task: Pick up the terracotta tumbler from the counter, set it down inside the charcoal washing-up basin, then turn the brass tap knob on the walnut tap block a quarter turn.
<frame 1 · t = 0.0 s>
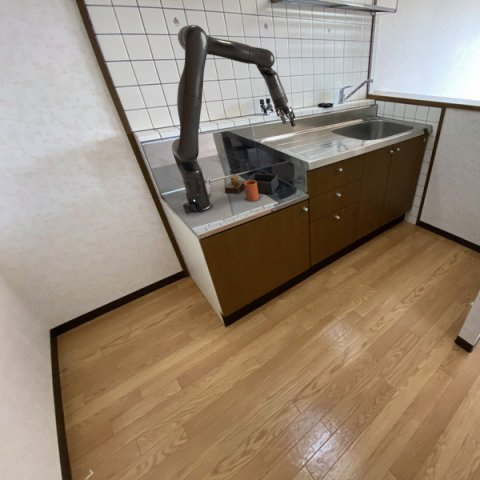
hand: (289, 125, 148), 31 cm above the countertop, tool tilted 20°, fingers open, 8 cm apart
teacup: (203, 195, 148), on the countertop
cup: (252, 198, 145), on the countertop
basin: (263, 188, 155), on the countertop
tap block: (236, 188, 155), on the countertop
tap knob: (234, 179, 152), point 5 cm above the countertop, hinge at 0.0°
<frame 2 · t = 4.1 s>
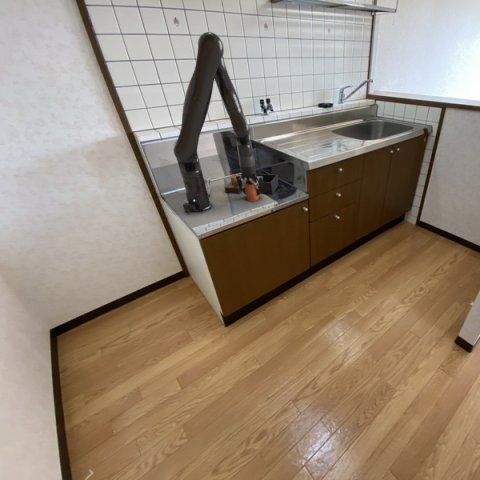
hand: (252, 194, 143), 2 cm above the countertop, tool pointing down, fingers closed on cup, 6 cm apart
cup: (252, 198, 145), on the countertop, touching gripper
everything else where it was.
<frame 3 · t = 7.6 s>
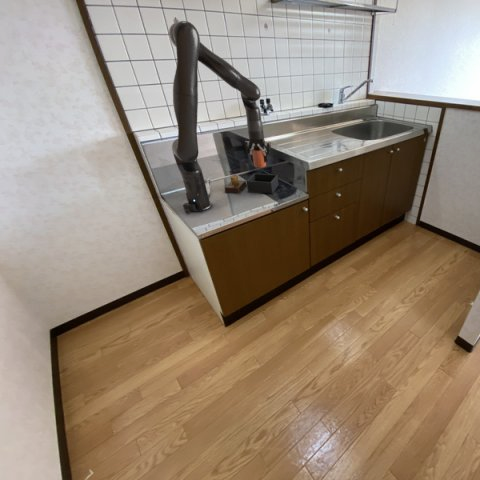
hand: (259, 161, 145), 16 cm above the countertop, tool pointing down, fingers closed on cup, 6 cm apart
cup: (260, 165, 147), point 14 cm above the countertop, touching gripper
everything else where it was.
when the fingers open (3 cm above the countertop, at t = 11.2 s): cup stays where it is, resting on basin.
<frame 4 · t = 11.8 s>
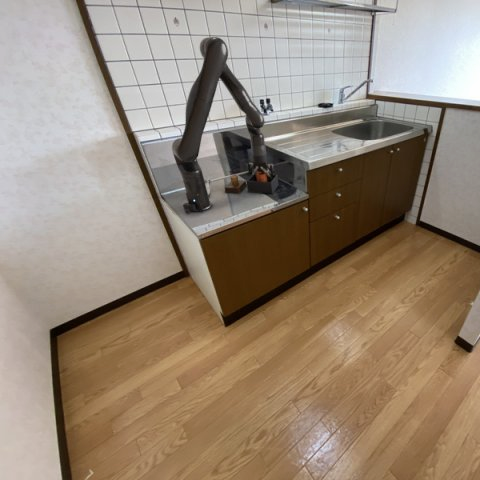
hand: (262, 181, 153), 4 cm above the countertop, tool pointing down, fingers open, 8 cm apart
cup: (263, 187, 155), resting on basin
everything else where it was.
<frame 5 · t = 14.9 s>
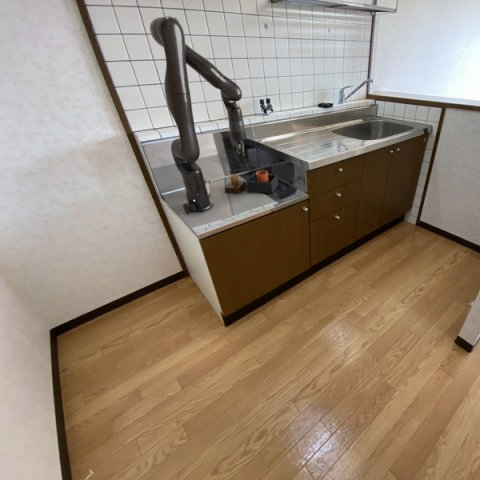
hand: (242, 160, 145), 16 cm above the countertop, tool pointing down, fingers open, 8 cm apart
nothing on the countertop moved.
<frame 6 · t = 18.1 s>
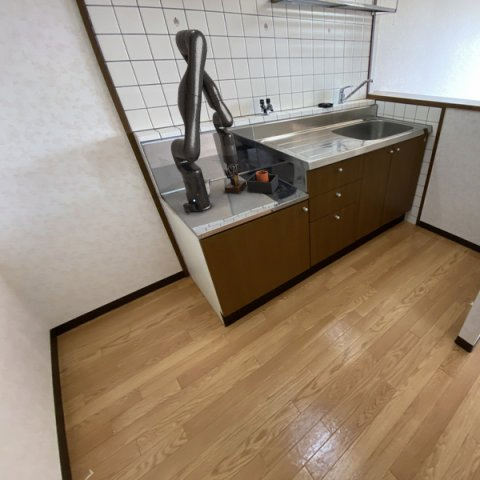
hand: (235, 183, 153), 4 cm above the countertop, tool pointing down, fingers closed on tap knob, 4 cm apart
tap knob: (234, 179, 152), point 5 cm above the countertop, hinge at -0.2°, touching gripper
everything else where it was.
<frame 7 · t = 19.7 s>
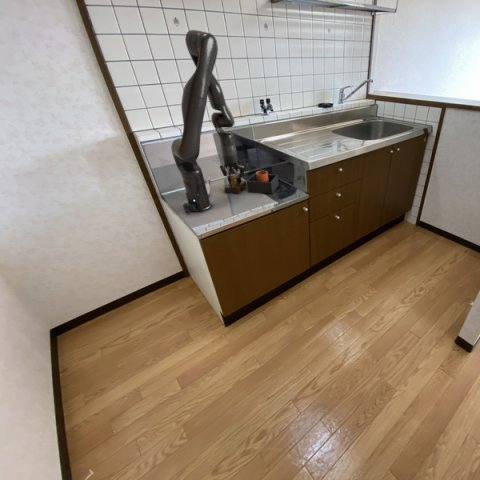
hand: (235, 183, 153), 3 cm above the countertop, tool pointing down, fingers open, 4 cm apart
tap knob: (234, 179, 152), point 5 cm above the countertop, hinge at 87.6°
everything else where it was.
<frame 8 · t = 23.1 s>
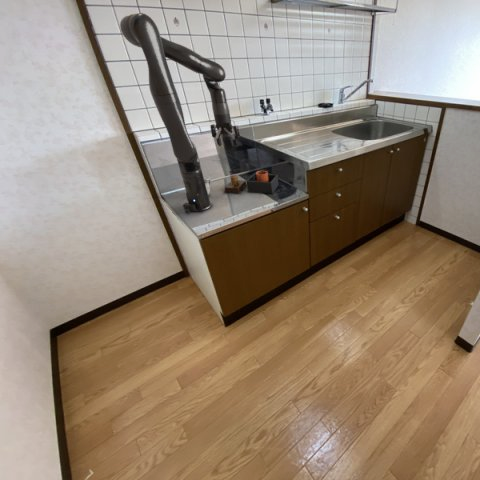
hand: (227, 146, 141), 24 cm above the countertop, tool pointing down, fingers open, 8 cm apart
nothing on the countertop moved.
at the end: cup inside the target area in the basin (0.0 cm from its centre), point 0.5 cm above the basin's base; cup tilted 0°; tap knob at +88° (first picture: +0°) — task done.
